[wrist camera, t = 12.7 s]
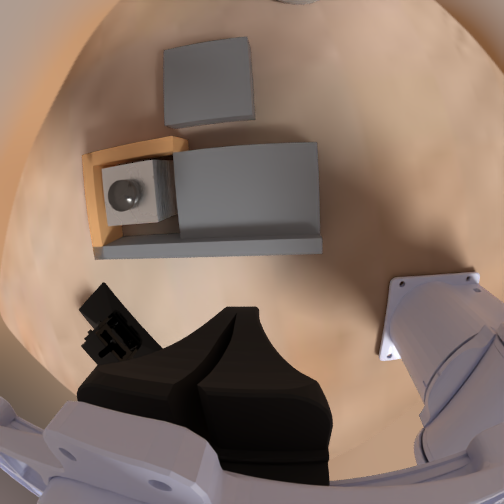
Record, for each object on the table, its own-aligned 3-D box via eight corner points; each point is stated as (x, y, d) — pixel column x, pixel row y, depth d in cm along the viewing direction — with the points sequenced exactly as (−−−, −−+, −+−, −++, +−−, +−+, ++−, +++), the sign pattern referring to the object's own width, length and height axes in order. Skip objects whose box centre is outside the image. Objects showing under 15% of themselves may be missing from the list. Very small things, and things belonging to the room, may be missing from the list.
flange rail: (312, 131, 19) (318, 124, 16) (316, 241, 21) (322, 253, 18) (104, 155, 21) (81, 155, 18) (115, 248, 23) (95, 259, 20)
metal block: (174, 160, 21) (145, 159, 16) (179, 212, 22) (151, 225, 17) (129, 167, 21) (93, 169, 16) (134, 216, 22) (100, 229, 17)
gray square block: (250, 47, 17) (247, 36, 15) (255, 119, 19) (252, 114, 17) (173, 59, 18) (163, 50, 16) (174, 129, 20) (164, 125, 18)
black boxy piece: (188, 361, 26) (173, 392, 22) (144, 385, 28) (128, 412, 24) (101, 262, 24) (72, 280, 20) (68, 300, 26) (42, 319, 22)
